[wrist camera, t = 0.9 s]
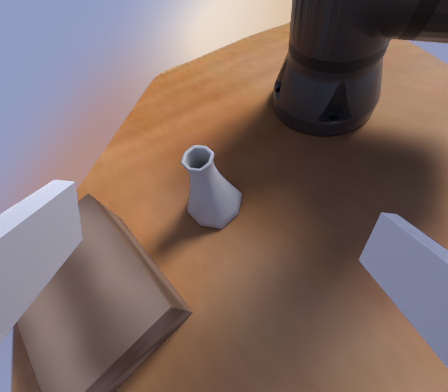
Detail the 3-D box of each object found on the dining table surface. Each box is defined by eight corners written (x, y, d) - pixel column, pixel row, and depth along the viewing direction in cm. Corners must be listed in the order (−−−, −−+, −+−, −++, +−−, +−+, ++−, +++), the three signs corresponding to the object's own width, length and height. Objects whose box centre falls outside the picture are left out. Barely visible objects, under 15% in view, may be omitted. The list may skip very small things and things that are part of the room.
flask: (178, 215, 32) (146, 172, 23) (206, 173, 35) (187, 122, 26) (225, 238, 29) (209, 201, 21) (251, 192, 32) (247, 142, 23)
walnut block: (120, 218, 33) (88, 193, 27) (192, 312, 26) (170, 307, 20) (48, 276, 30) (-5, 263, 24) (107, 398, 23) (52, 423, 17)
